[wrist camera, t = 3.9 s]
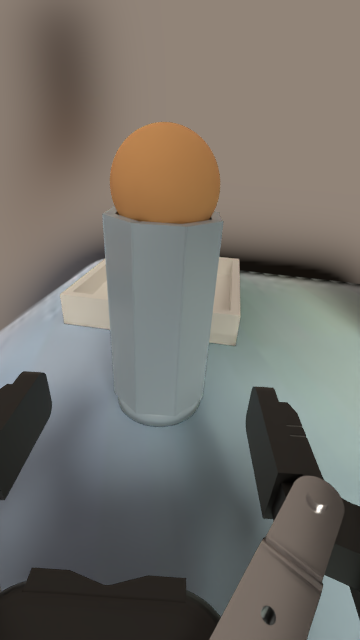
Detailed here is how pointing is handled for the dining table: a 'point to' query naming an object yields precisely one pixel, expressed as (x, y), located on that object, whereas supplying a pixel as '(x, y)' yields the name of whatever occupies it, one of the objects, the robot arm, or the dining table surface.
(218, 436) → the dining table surface
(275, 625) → the robot arm
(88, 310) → the tray
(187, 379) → the cup
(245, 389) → the dining table surface
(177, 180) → the ball
